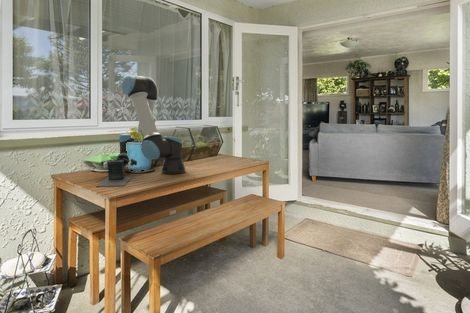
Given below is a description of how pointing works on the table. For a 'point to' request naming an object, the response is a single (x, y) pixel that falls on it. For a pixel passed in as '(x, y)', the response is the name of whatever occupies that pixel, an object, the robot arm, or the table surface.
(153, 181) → the table surface
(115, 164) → the box
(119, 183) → the felt mat
